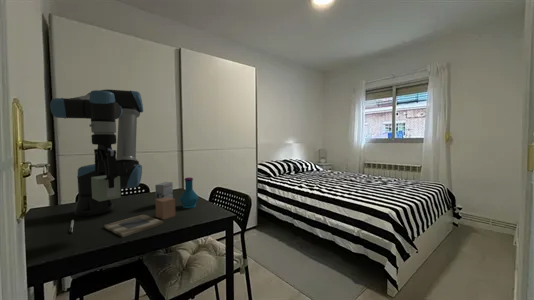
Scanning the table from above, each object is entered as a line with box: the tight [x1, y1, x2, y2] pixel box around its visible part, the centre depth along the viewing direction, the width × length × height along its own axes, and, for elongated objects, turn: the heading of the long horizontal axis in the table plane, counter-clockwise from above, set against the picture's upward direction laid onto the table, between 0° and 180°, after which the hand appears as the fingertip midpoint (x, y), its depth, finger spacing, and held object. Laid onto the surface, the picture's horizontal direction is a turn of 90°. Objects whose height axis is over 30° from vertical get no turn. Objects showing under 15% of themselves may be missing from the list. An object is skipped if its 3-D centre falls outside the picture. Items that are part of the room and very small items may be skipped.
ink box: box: [154, 181, 174, 200], centre depth 126 cm, size 9×5×12 cm, turn 168°
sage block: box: [91, 175, 122, 202], centre depth 88 cm, size 7×7×8 cm
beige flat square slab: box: [103, 214, 164, 238], centre depth 97 cm, size 16×16×1 cm
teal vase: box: [179, 177, 199, 209], centre depth 123 cm, size 9×9×15 cm
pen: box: [68, 219, 75, 235], centre depth 96 cm, size 1×19×1 cm, turn 38°
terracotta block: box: [155, 197, 176, 220], centre depth 108 cm, size 6×6×8 cm
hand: (106, 194), depth 88 cm, fingers closed on sage block, 7 cm apart
